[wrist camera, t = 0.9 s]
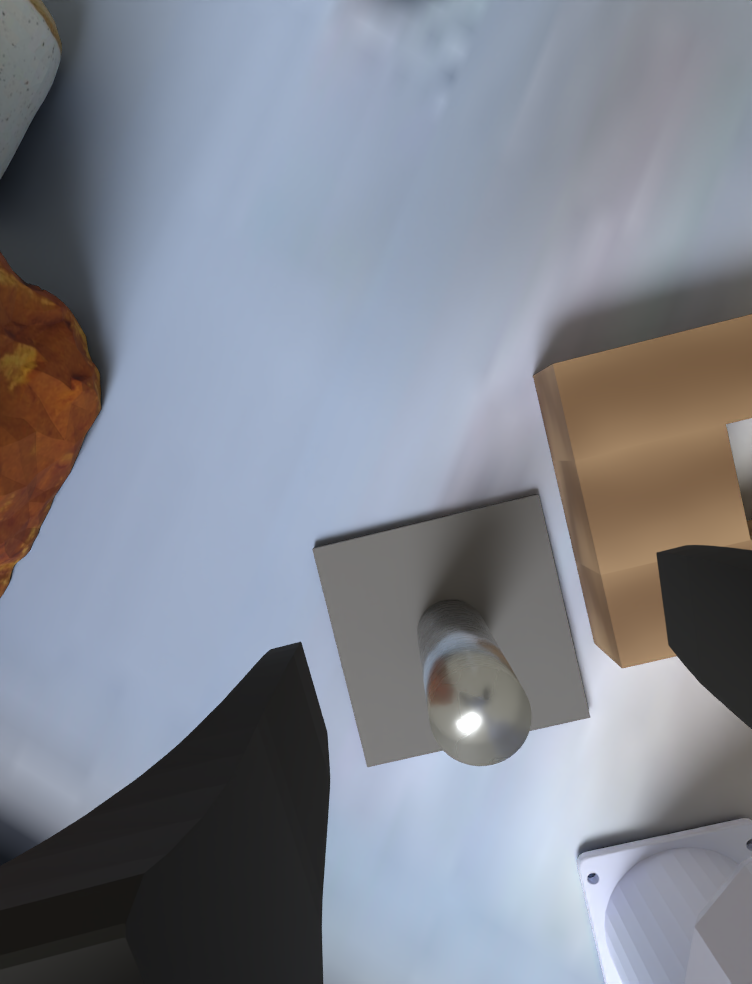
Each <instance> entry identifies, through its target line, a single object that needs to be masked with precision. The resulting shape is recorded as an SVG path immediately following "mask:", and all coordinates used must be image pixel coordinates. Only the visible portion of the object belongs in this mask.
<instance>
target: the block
mask: <svg viewBox="0 0 752 984" xmlns="http://www.w3.org/2000/svg"><path fill="white" fill-rule="evenodd" d="M533 378H534V382H535V387H536V391H537V395H538V400H539V404H540V408H541V413H542V417H543V422H544V426H545V430H546V435H547V439H548V443H549V448H550V452H551V456H552V461H553V465H554V469H555V474H556V478H557V482H558V487H559V491H560V496H561V500H562V504H563V509H564V513H565V517H566V522H567V526H568V530H569V535H570V539H571V543H572V548H573V552H574V556H575V561H576V565H577V570H578V574H579V578H580V583H581V587H582V591H583V596H584V600H585V604H586V609H587V613H588V617H589V622H590V626H591V631H592V635H593V639H594V643H595V644H596V645H597V646H598V647H599V648H600V649H601V650H602V651H603V652H605V653H606V654H607V655H608V656H609V657H610V658H611V659H612V660H613V661H615V662H616V663H617V664H618V665H619V666H620V667H621V668H626V667H631V666H635V665H639V664H644V663H648V662H653V661H657V660H661V659H666V658H670V657H675V656H677V655H676V654H675V653H674V652H673V650H672V649H671V648H670V647H669V646H668V639H667V631H666V623H665V616H664V608H663V601H662V593H661V585H660V578H659V570H658V563H657V555H656V553H657V552H661V551H665V550H669V549H673V548H677V547H681V546H685V545H709V546H720V547H730V548H739V549H747V550H752V520H748V521H746V516H745V512H744V507H743V502H742V498H741V493H740V488H739V484H738V479H737V474H736V470H735V465H734V460H733V456H732V451H731V446H730V442H729V437H728V432H727V428H726V424H729V423H733V422H737V421H741V420H745V419H749V418H752V314H750V315H746V316H742V317H738V318H734V319H730V320H726V321H722V322H718V323H714V324H710V325H706V326H702V327H698V328H694V329H690V330H686V331H682V332H678V333H674V334H670V335H666V336H662V337H658V338H654V339H650V340H646V341H642V342H638V343H634V344H630V345H626V346H622V347H618V348H614V349H610V350H606V351H602V352H598V353H594V354H590V355H586V356H582V357H578V358H574V359H570V360H566V361H562V362H558V363H554V364H552V365H550V366H548V367H547V368H545V369H543V370H542V371H540V372H538V373H537V374H535V375H533Z"/></svg>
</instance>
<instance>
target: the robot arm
mask: <svg viewBox="0 0 752 984" xmlns="http://www.w3.org/2000/svg"><path fill="white" fill-rule="evenodd" d="M656 555H657V563H658V570H659V578H660V585H661V593H662V601H663V608H664V616H665V623H666V631H667V639H668V646H669V647H670V648H671V649H672V650H673V652H674V653H675V654H676V655H677V656H678V658H679V659H680V660H681V661H682V663H683V664H684V665H685V666H686V667H687V669H688V670H689V671H690V672H691V673H692V674H693V675H694V676H695V677H696V679H697V680H698V681H699V682H700V683H701V684H702V685H703V686H704V687H705V688H706V689H707V690H708V691H709V692H710V693H712V694H713V695H714V696H715V697H716V698H717V699H718V700H719V701H721V702H722V703H723V704H724V705H725V706H726V707H727V708H728V709H729V710H731V711H732V712H733V713H734V714H735V715H736V716H737V717H738V718H740V719H741V720H742V721H743V722H744V723H745V724H747V725H748V726H749V727H750V728H751V729H752V550H747V549H739V548H730V547H720V546H709V545H685V546H681V547H677V548H673V549H669V550H665V551H661V552H657V553H656ZM329 793H330V766H329V750H328V736H327V730H326V726H325V723H324V719H323V716H322V713H321V709H320V706H319V702H318V699H317V695H316V692H315V688H314V685H313V681H312V678H311V674H310V671H309V667H308V664H307V661H306V657H305V654H304V650H303V647H302V643H301V642H298V643H294V644H290V645H286V646H282V647H278V648H274V649H271V650H269V651H268V652H267V653H266V654H265V655H264V656H263V657H262V658H261V659H260V660H259V661H258V662H257V663H256V664H255V666H254V667H253V668H252V669H251V670H250V671H249V672H248V673H247V675H246V676H245V677H244V678H243V679H242V680H241V681H240V682H239V683H238V685H237V686H236V687H235V688H234V689H233V690H232V691H231V692H230V693H229V694H228V696H227V697H226V698H225V699H224V700H223V701H222V702H221V703H220V704H219V705H218V706H217V707H216V708H215V709H214V710H213V711H212V712H211V713H210V714H209V715H208V716H207V717H206V718H205V719H204V720H203V721H202V722H201V723H200V724H199V725H198V726H197V727H196V728H195V729H194V730H193V731H192V732H191V733H190V734H189V735H188V736H187V737H186V738H185V739H184V740H183V741H182V742H180V743H179V744H178V745H177V746H176V747H175V748H174V749H173V750H171V751H170V752H169V753H168V754H167V755H166V756H164V757H163V758H162V759H161V760H159V761H158V762H157V763H156V764H155V765H153V766H152V767H151V768H150V769H149V770H147V771H146V772H145V773H144V774H142V775H141V776H140V777H138V778H137V779H136V780H135V781H133V782H132V783H130V784H129V785H127V786H126V787H125V788H123V789H122V790H120V791H119V792H118V793H116V794H115V795H113V796H112V797H111V798H109V799H108V800H106V801H105V802H103V803H102V804H101V805H99V806H98V807H96V808H95V809H94V810H92V811H91V812H89V813H88V814H87V815H85V816H83V817H82V818H80V819H79V820H77V821H76V822H74V823H73V824H71V825H69V826H68V827H66V828H65V829H63V830H61V831H60V832H58V833H57V834H55V835H53V836H52V837H50V838H49V839H47V840H45V841H43V842H42V843H40V844H38V845H37V846H35V847H33V848H31V849H30V850H28V851H26V852H25V853H23V854H21V855H19V856H18V857H16V858H14V859H12V860H11V861H9V862H7V863H5V864H3V865H2V866H0V984H323V959H322V896H323V882H324V867H325V853H326V838H327V824H328V809H329ZM751 839H752V820H751V819H748V818H742V819H737V820H732V821H727V822H723V823H718V824H713V825H709V826H704V827H699V828H695V829H690V830H685V831H681V832H676V833H671V834H667V835H662V836H657V837H653V838H648V839H643V840H639V841H634V842H629V843H625V844H620V845H615V846H611V847H606V848H601V849H597V850H592V851H587V852H584V853H582V854H581V855H580V856H579V857H578V859H577V867H578V872H579V876H580V880H581V884H582V889H583V893H584V897H585V901H586V905H587V910H588V914H589V918H590V922H591V927H592V931H593V935H594V939H595V944H596V948H597V952H598V956H599V961H600V965H601V969H602V973H603V978H604V982H605V984H752V842H751V843H750V844H748V845H746V843H747V842H748V841H749V840H751ZM591 873H596V875H595V876H594V877H592V878H588V875H589V874H591Z"/></svg>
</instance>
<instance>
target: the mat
mask: <svg viewBox="0 0 752 984" xmlns="http://www.w3.org/2000/svg"><path fill="white" fill-rule="evenodd" d="M313 553H314V557H315V561H316V565H317V569H318V573H319V577H320V581H321V585H322V589H323V593H324V597H325V601H326V605H327V609H328V613H329V617H330V621H331V625H332V629H333V633H334V637H335V641H336V644H337V648H338V652H339V656H340V660H341V664H342V668H343V672H344V676H345V680H346V684H347V688H348V692H349V696H350V700H351V704H352V708H353V712H354V716H355V720H356V724H357V728H358V732H359V736H360V740H361V744H362V748H363V752H364V756H365V760H366V763H367V767H371V766H375V765H380V764H384V763H389V762H393V761H398V760H402V759H407V758H411V757H415V756H420V755H424V754H429V753H433V752H438V751H442V748H441V747H440V746H439V745H438V743H437V742H436V740H435V738H434V736H433V734H432V731H431V728H430V722H429V715H428V708H427V701H426V695H425V688H424V681H423V674H422V667H421V660H420V653H419V646H418V639H417V628H418V623H419V621H420V618H421V617H422V615H423V614H424V612H425V611H426V610H427V609H428V608H429V607H430V606H432V605H433V604H435V603H437V602H439V601H443V600H448V599H454V600H460V601H463V602H466V603H468V604H470V605H471V606H473V607H474V608H475V609H476V610H477V611H478V612H479V613H480V615H481V616H482V618H483V620H484V621H485V623H486V625H487V627H488V628H489V630H490V632H491V634H492V635H493V637H494V639H495V641H496V642H497V644H498V646H499V647H500V649H501V651H502V653H503V654H504V656H505V658H506V660H507V661H508V663H509V665H510V667H511V668H512V670H513V672H514V674H515V675H516V677H517V679H518V680H519V682H520V684H521V686H522V687H523V689H524V691H525V693H526V695H527V697H528V699H529V702H530V706H531V714H532V719H531V726H530V731H532V730H536V729H541V728H545V727H550V726H554V725H559V724H563V723H568V722H572V721H577V720H581V719H586V718H590V714H589V710H588V706H587V701H586V697H585V693H584V688H583V684H582V680H581V675H580V671H579V667H578V662H577V658H576V654H575V650H574V645H573V641H572V637H571V632H570V628H569V624H568V619H567V615H566V611H565V606H564V602H563V598H562V593H561V589H560V585H559V580H558V576H557V572H556V567H555V563H554V559H553V554H552V550H551V546H550V542H549V537H548V533H547V529H546V524H545V520H544V516H543V511H542V507H541V503H540V498H539V495H538V494H535V495H531V496H527V497H523V498H518V499H514V500H510V501H506V502H502V503H498V504H493V505H489V506H485V507H481V508H477V509H473V510H469V511H464V512H460V513H456V514H452V515H448V516H444V517H439V518H435V519H431V520H427V521H423V522H419V523H414V524H410V525H406V526H402V527H398V528H394V529H389V530H385V531H381V532H377V533H373V534H369V535H365V536H360V537H356V538H352V539H348V540H344V541H340V542H335V543H331V544H327V545H323V546H319V547H315V548H313Z"/></svg>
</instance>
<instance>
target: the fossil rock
mask: <svg viewBox="0 0 752 984" xmlns="http://www.w3.org/2000/svg"><path fill="white" fill-rule="evenodd" d="M100 410H101V387H100V373H99V371H98V369H97V367H96V365H95V364H94V363H93V362H92V360H91V357H90V355H89V352H88V347H87V340H86V335H85V334H84V332H83V330H82V329H81V327H80V325H79V323H78V322H77V320H76V318H75V316H74V315H73V314H72V312H71V311H70V310H69V308H68V307H67V306H66V305H65V304H64V303H63V302H62V301H61V300H60V299H58V298H57V297H56V296H54V295H53V294H51V293H49V292H47V291H46V290H41V289H40V287H39V286H35V285H31V284H27V283H25V282H24V281H23V280H22V279H21V278H20V277H19V276H18V275H17V274H16V273H15V272H14V271H13V270H12V269H11V267H10V266H9V264H8V263H7V261H6V260H5V258H4V256H3V255H2V253H1V252H0V598H1V596H2V595H3V593H4V591H5V590H6V588H7V586H8V584H9V581H10V576H11V572H12V569H13V567H14V565H15V564H16V563H17V562H18V561H20V560H21V559H22V558H23V557H25V556H26V555H27V553H28V552H29V551H30V550H31V547H32V544H33V542H34V540H35V538H36V537H37V535H38V532H39V529H40V527H41V525H42V523H43V521H44V519H45V517H46V515H47V513H48V511H49V509H50V507H51V504H52V501H53V498H54V496H55V495H56V493H57V492H58V491H59V489H60V487H61V486H62V484H63V483H64V481H65V480H66V478H67V477H68V475H69V474H70V472H71V469H72V467H73V465H74V462H75V460H76V458H77V456H78V453H79V451H80V448H81V446H82V443H83V440H84V438H85V435H86V433H87V432H88V430H89V429H90V427H91V426H92V424H93V423H94V421H95V419H96V417H97V415H98V414H99V412H100Z"/></svg>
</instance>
